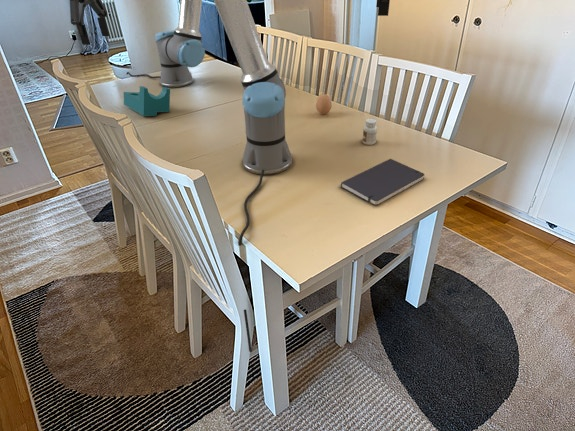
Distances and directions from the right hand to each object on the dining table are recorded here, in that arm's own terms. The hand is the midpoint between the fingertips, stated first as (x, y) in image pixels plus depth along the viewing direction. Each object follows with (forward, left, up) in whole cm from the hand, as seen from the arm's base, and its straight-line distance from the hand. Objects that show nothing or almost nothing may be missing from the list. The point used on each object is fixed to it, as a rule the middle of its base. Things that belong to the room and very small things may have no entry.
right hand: (381, 11), depth 113 cm
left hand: (+53, +90, -13) cm, 105 cm away
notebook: (-26, +5, -40) cm, 48 cm away
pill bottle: (0, 0, -40) cm, 40 cm away
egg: (+27, +9, -40) cm, 49 cm away
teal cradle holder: (+50, +77, -40) cm, 100 cm away
